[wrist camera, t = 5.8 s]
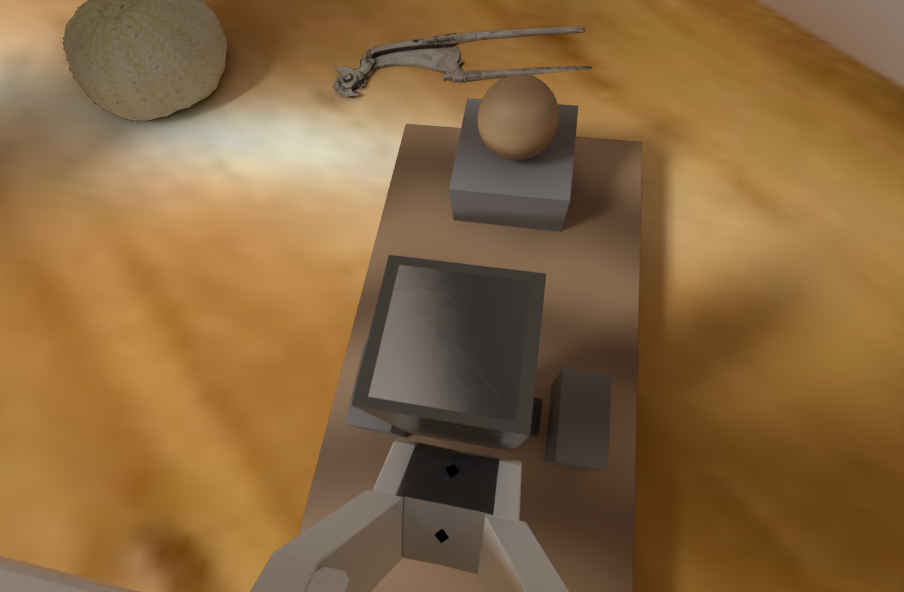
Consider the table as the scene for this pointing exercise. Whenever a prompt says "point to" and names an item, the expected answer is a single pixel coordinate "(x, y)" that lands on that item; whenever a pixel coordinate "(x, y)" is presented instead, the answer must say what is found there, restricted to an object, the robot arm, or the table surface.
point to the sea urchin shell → (145, 54)
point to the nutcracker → (441, 58)
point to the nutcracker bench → (562, 329)
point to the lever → (455, 353)
